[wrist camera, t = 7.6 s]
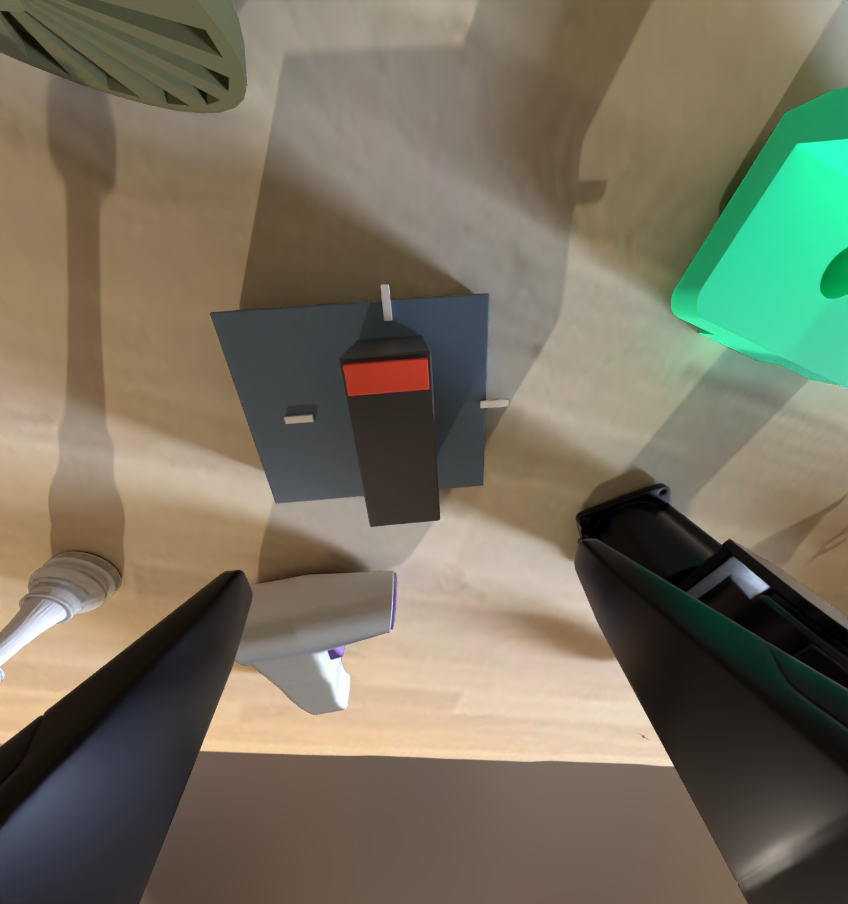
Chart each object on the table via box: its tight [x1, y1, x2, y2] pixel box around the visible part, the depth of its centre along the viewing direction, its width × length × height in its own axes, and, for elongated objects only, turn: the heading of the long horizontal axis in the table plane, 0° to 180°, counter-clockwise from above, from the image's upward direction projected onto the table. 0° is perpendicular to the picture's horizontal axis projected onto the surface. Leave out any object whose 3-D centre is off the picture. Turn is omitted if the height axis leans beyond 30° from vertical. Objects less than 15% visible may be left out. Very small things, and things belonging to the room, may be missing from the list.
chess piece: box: [0, 552, 121, 681], centre depth 18 cm, size 4×4×10 cm
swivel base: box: [210, 284, 508, 504], centre depth 17 cm, size 13×11×3 cm
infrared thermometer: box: [235, 571, 397, 715], centre depth 25 cm, size 5×12×15 cm
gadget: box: [339, 335, 440, 527], centre depth 13 cm, size 7×3×5 cm, turn 4°
